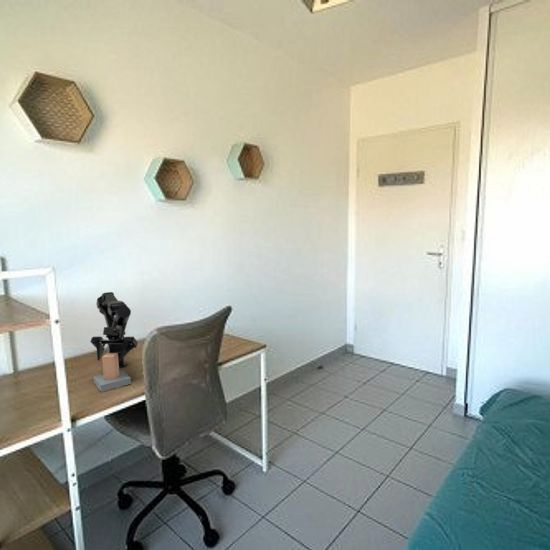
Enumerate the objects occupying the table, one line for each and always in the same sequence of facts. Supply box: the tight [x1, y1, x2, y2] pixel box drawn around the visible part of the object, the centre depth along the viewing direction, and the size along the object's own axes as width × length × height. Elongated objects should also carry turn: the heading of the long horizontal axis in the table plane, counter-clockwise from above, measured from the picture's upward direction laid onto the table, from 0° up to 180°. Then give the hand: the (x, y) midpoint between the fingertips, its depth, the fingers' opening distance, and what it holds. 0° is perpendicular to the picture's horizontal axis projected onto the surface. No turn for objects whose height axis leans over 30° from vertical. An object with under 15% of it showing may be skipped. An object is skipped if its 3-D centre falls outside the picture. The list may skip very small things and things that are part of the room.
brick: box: [101, 352, 120, 379], centre depth 165 cm, size 5×5×10 cm
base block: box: [93, 369, 132, 393], centre depth 166 cm, size 12×12×3 cm
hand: (109, 360), depth 163 cm, fingers open, 9 cm apart
